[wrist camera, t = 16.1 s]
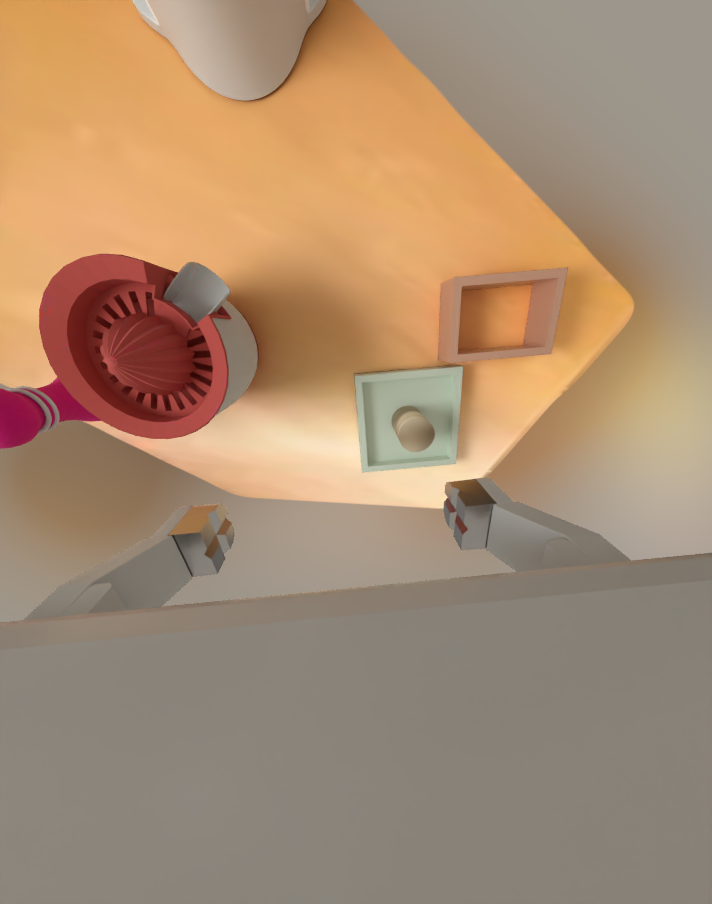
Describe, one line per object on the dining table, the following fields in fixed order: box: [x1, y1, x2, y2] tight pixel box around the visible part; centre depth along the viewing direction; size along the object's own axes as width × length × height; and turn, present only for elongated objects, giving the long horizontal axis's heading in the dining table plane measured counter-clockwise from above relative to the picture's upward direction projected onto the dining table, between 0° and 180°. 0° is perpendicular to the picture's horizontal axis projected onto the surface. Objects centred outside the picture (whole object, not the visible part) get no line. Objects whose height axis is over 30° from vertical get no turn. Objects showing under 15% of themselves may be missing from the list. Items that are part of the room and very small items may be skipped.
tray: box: [354, 365, 463, 472], centre depth 44 cm, size 16×16×2 cm
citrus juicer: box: [39, 254, 259, 439], centre depth 31 cm, size 16×17×20 cm
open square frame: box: [438, 268, 568, 363], centre depth 38 cm, size 10×14×5 cm
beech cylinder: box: [391, 406, 435, 452], centre depth 42 cm, size 5×5×7 cm
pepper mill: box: [0, 377, 102, 449], centre depth 32 cm, size 7×7×20 cm
